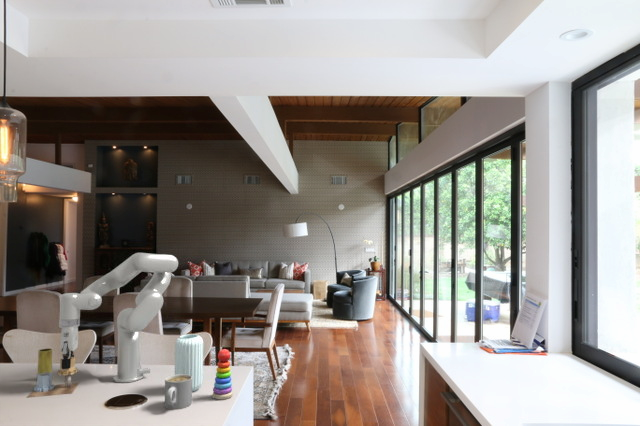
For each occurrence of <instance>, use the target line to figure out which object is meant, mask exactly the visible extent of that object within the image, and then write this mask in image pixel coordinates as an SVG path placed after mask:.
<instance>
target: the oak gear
mask: <svg viewBox="0 0 640 426" xmlns="http://www.w3.org/2000/svg"><path fill="white" fill-rule="evenodd" d="M70 358H71V368H70V369H62V358H61V359H60V362H59V363H60V365H59V366H60V367H59V368H60V369H58V370H57V371H56V372H57V376H64V377H65V375H68V374H70V375H71V376H72V375H74V374H76V373H77V372H78V368H77V367H76V357H75V356H74V357H70Z"/></svg>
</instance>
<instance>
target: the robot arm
mask: <svg viewBox="0 0 640 426" xmlns="http://www.w3.org/2000/svg"><path fill="white" fill-rule="evenodd" d="M178 267H179V260H178V258H177V257H176V256H174V255H173V254H165V253H163V254H162V253H161V254H160V253H158V254H157V253H150V252H149V253H148V252H147V253H146V252H135V253H134V254H132V255H131V256H129V257H128V258H126V259H125V260H124V261H123V262H122V263H120V264H119V265H118V266H116V267H115V268H114V269H112V270H111V271H110V272H108V273H106V274H104V275H103V276H102V277H99V278H98V279H97V280H95V281H94V282H92V283H91V284H89V285H88V286H87V287H85V288H84V289H83V290H81V291H80V293H79V292H68V293H67V292H66V293H63V294H61V296H60V299H59V300H60V301H59V323H58V328H60V329H61V332H60V342H59V343H60V347H59V348H60V352H61V353H62V355H61V359H62V369H70V368H71V358H70V357H75V350H76V349H77V348H79V326H81V324H80V322H81V319H80V318H81V310H82V311H86V310H87V311H93V310H96V309H98V308H99V307H101V305H102V303H103V302H102V301H103V299H102V297H103V296H104V295H106V294H108V293H109V292H111V291H113V290H116V289H119V288H121V287H124V286H125V285H127V284H128V283H129V282H131V281H132V280H133V279H134V278H135V277H136V276H138V275H139V274H140V273H142V272H144V273H153V275H152V277H151V278H150V280H149V281H148V283H146V285H145V286H144V287H143V289H141V290H140V292H138V294H137V295H136V297H135V305H136V306H135V308H134V307H126V308H124V309H122V310H121V311H120V312H119V313H118V316H117V319H116V328H117V363H116V364H117V372H116V374H115V375H114V376H113V379H112V380H113V381H114V382H116V383H131V382H137V381H139V380H141V379H143V378H144V374H145V375H147V374H151V368H148V367H146V368H143V367H142V365H141V341H142V340H141V339H142V336H141V332H142V331H143V330H144V329H145V328H147V326H148V325H149V324H150V323H151V322H152V321H153V320H154V318H155V317H156V316H157V314H158V313H159V312H160V310H161V309H162V308H163V305H164V297H163V294H164V292H165V291H166V290H167V288H168V286H170V283H171V278H172V273H174V272H175V271H176V270H177V269H178Z"/></svg>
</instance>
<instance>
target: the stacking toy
mask: <svg viewBox="0 0 640 426" xmlns="http://www.w3.org/2000/svg"><path fill="white" fill-rule="evenodd" d="M217 359H218V360H219V361H218V362H217V364H216V365H217V367H216V373H215V376H216V377H215V378H214V384H213V386H214V387H213V388H212V391H213V392H212V394H211V395H212V397H213V399H215V400H227V399H230V398H231V397H232V396H233V394H234V393H233V391H232V390H233V387H232V385H233V383H232V376H231V375H232V372H231V367H230V366H231V361H230V359H231V351H229V349H226V348H224V349H221V350H219V352H218V354H217Z"/></svg>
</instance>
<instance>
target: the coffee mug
mask: <svg viewBox="0 0 640 426" xmlns="http://www.w3.org/2000/svg"><path fill="white" fill-rule="evenodd" d="M192 400H193V392H192V376H191V375H187V374H178V375H175V374H173V375H169V376H167V377H165V378H164V408H165V409H168V410H174V411H175V410H183V409H186V408H188V407H190V406H191V405H192V403H193V401H192Z"/></svg>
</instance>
